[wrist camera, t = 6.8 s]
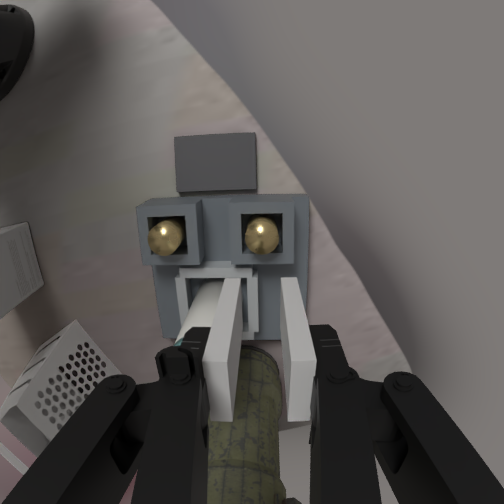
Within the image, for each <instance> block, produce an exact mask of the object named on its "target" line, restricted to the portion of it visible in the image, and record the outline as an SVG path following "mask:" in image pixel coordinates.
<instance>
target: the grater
mask: <svg viewBox="0 0 504 504" xmlns="http://www.w3.org/2000/svg"><path fill="white" fill-rule="evenodd" d="M58 336H60V338H59V339H58V340H57V339H56V338H57V337H58ZM54 339H56V340H55V341H54V342H52V341H53V340H54ZM50 342H52V343H51V344H50V345H48V344H49V343H50ZM85 342H87V343H88V344H89V348H86V347H85V346H84V343H85ZM78 344H80V345H82V347H83V349H82V350H81V351H80V350H78V348H77V346H78ZM46 345H48V346H47V347H46V348H44V347H45V346H46ZM42 348H44V349H42ZM90 349H93V350H94V351H95V354H94V355H92V354H91V353H90ZM84 351H86V352H87V353H88V357H85V356H84V355H83V352H84ZM76 352H79V353H80V354H81V358H77V357H76ZM70 354H72V355H73V356H74V360H73V361H71V360H70V359H69V355H70ZM96 355H98V356H100V359H101V360H100V361H97V360H96V358H95V357H96ZM89 358H93V360H94V363H93V364H91V363H90V362H89ZM82 359H86V361H87V364H86V365H83V364H82V362H81V360H82ZM76 361H78V362H79V363H80V367H79V368H77V367H76V366H75V364H74V363H75V362H76ZM102 361H103V362H105V363H106V367H105V368H103V367H102V366H101V362H102ZM67 363H69V364H71V366H72V368H71V370H68V369H67V368H66V364H67ZM96 364H98V365H99V366H100V370H96V369H95V365H96ZM89 365H90V366H92V368H93V371H92V372H90V371H89V370H88V368H87V367H88V366H89ZM59 366H62V367H63V368H64V372H63V373H62V371H61V370H60V369H59ZM81 368H84V369H85V370H86V374H82V373H81V371H80V370H81ZM73 370H76V371H77V373H78V375H77V377H74V376H73V374H72V371H73ZM101 371H104V372H105V374H106V375H105V377H103V376H101V373H100V372H101ZM94 372H97V373H98V375H99V377H98V378H95V377H94V375H93V373H94ZM66 373H68V374H70V376H71V378H70V380H69V379H68V378H67V377H66V376H65V374H66ZM117 374H122V373H121V372H120V371H119V370H118V369H117V368H116V366H115V365H114V364H113V363H112V362H111V361H110V360H109V359H108V357H107V356H106V355H105V354H104V353H103V352H102V351H101V349H100V348H99V347H98V346H97V345H96V344H95V342H94V341H93V340H92V339H91V338H90V336H89V335H88V334H87V333H86V331H85V330H84V329H83V328H82V326H81V325H80V324H79V323H78V321H77V320H76V319H75V320H74V321H73V322H71V323H70V324H69V325H67V326H66V327H65V328H63V329H62V330H61V331H59V332H58V333H57V334H55V335H54V336H53V337H51V338H50V339H49V340H47V341H46V342H45V343H43V344H42V345H41V346H40V347H39V348H38V350H37V351H36V353H35V354H34V356H33V357H32V359H31V360H30V362H29V363H28V365H27V366H26V368H25V369H24V371H23V372H22V374H21V375H20V377H19V378H18V380H17V381H16V383H15V385H14V386H13V388H12V389H11V391H10V393H9V394H8V396H7V398H6V399H5V401H4V403H3V404H2V406H1V408H0V421H1V423H2V424H3V425H4V426H5V427H6V428H7V429H8V430H9V431H10V432H11V433H12V434H13V435H14V436H15V437H16V438H17V439H18V440H19V441H20V442H21V443H22V444H23V445H24V446H25V447H27V449H29V450H30V451H31V452H32V453H33V454H34V455H35V456H36V457H37V458H38V457H39V455H40V454H41V453H42V452H43V450H44V449H45V448H46V447H47V445H48V444H49V443H50V442H51V440H52V439H53V438H54V437H55V435H56V434H57V433H58V432H59V431H60V429H61V428H62V427H63V426H64V424H65V423H66V422H67V421H68V420H69V418H70V417H71V416H72V415H73V414H74V412H75V411H76V410H77V409H78V408H79V406H80V405H81V404H82V403H83V402H84V400H85V399H86V398H87V397H88V396H89V394H90V393H91V392H92V391H93V390H94V388H95V387H94V386H93V382H94V381H96V382H97V383H98V384H99V382H101V381H102V380H103V379H104V378H106V377H109V376H111V375H117ZM87 375H91V377H92V381H88V380H87ZM122 375H123V374H122ZM79 377H82V378H83V379H84V383H83V384H81V383H80V382H79V380H78V379H79ZM72 380H75V381H76V382H77V386H76V387H75V386H74V385H73V384H72V383H71V381H72ZM85 384H89V386H90V390H86V389H85ZM78 387H81V388H82V389H83V393H81V392H80V391H79V390H78ZM84 394H87V395H85V396H84ZM0 454H1V455H2V456H3V457H4V458H5V459H6V460H8V462H10V463H11V464H12V465H13V466H14V467H15V468H16V469H17V470H19V471H20V472H21V473H22V474H23V475H24V474H25V473H26V472H27V470H28V469H29V468H28V467H27V466H26V465H25V464H23V463H22V462H21V461H20V460H19V459H18V458H17V457H16V456H15V455H13V453H12V452H10V451H9V450H8V449H7V448H6V447H5V446H4V445H3V444H2V443H1V442H0Z"/></svg>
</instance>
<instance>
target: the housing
mask: <svg viewBox="0 0 504 504" xmlns="http://www.w3.org/2000/svg"><path fill="white" fill-rule="evenodd" d="M136 211H137V221H138V231H139V239H140V248H141V255H142V263H143V265H152V269H153V277H154V284H155V291H156V297H157V304H158V310H159V316H160V322H161V328H162V334H163V338H177V337H178V335H179V333H180V330H181V328H182V326H183V323H184V321H185V319H186V316H187V314H188V312H189V309H190V307H191V305H192V302H193V300H194V298H195V296H196V293H197V291H198V289H199V287H200V285H201V284H202V283H203V282H204V281H205V280H206V279H208V278H241V291H242V294H243V302H242V319H243V331H242V340H281V331H280V305H281V278H284V277H297V281H298V285H299V289H300V293H301V297H302V301H303V305H304V309H305V313H306V296H307V272H308V237H309V196H308V195H307V194H249V195H214V196H190V197H170V198H152V199H150V200H147V201H145V203H143V204H141V205H139V206H137V207H136ZM265 213H267V214H269V215H271V216H272V217H273V218H274V219H275V221H276V224H277V229H278V234H279V242H278V245H277V247H276V248H275V249H274V250H273V251H272V252H270V253H268V254H264V255H260V254H256V253H254V252H252V251H251V250H250V249H249V248H248V247H247V245H246V242H245V235H246V230H247V225H248V221H249V220H250V218H251V217H252V216H253V215H255V214H265ZM168 216H180V217H181V218H183V219H184V220H185V221H186V234H187V237H186V238H185V239H184V241H183V242H182V243H181V244H180V245H179V247H178V248H177V249H176V250H175V251H174V252H173V253H172V254H170V255H168V256H161V255H158V254H156V253H154V252H153V251H152V250H151V248H150V247H149V244H148V234H149V232H150V230H151V229H152V228H153V227H154V226H156V225H157V224H158V223H160V222H161V221H162V220H164V219H165V218H166V217H168Z"/></svg>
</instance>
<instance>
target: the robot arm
mask: <svg viewBox="0 0 504 504" xmlns="http://www.w3.org/2000/svg"><path fill="white" fill-rule="evenodd" d="M33 35H34V27H33V21H32V18H31V16H30V14H29V13H28V12H27V11H26V10H24V9H22V8H20V7H18V6H15V5H9V4H8V5H0V100H1V99H2V98H3V97H5V95H6V94H7V93H8V92H9V91H10V90H11V89H12V87H13V86H14V84H15V83H16V81H17V80H18V78H19V76H20V75H21V73H22V71H23V69H24V67H25V64H26V62H27V59H28V57H29V54H30V51H31V47H32V42H33ZM242 331H243V319H242V296H241V278H225V280H224V283H223V287H222V290H221V294H220V297H219V301H218V305H217V308H216V312H215V315H214V319H213V323H212V326H211V327H192V328H190V329H189V330H188V331H187V332H186V333H185V335H184V337H183V340H182V342H181V345H180V346H179V345H178V346H170V347H168V348H165V349H163V350H161V351H160V352H158V353H157V355H156V357H155V360H156V364H157V369H158V373H159V377H160V378H159V381H156V382H153V383H147V384H139V385H136V383H135V381H134V380H133V379H132V378H131V377H130V376H127V375H122V374H117V375H111V376H109V377H106V378H104V379H103V380H102V381H101V382H99V384H98V385H97V386H96V387H95V388H94V390H93V391H92V392H91V393H90V394H89V396H88V397H87V398H86V399H85V400H84V402H83V403H82V404H81V405H80V406H79V408H78V409H77V410H76V411H75V412H74V414H73V415H72V416H71V417H70V418H69V420H68V421H67V422H66V423H65V424H64V426H63V427H62V428H61V429H60V431H59V432H58V433H57V434H56V435H55V437H54V438H53V439H52V440H51V442H50V443H49V444H48V445H47V447H46V448H45V449H44V450H43V452H42V453H41V454H40V455H39V457H38V458H37V459H36V460H35V462H34V463H33V464H32V465H31V467H30V468H29V469H28V470H27V472H26V473H25V474H24V475H23V477H22V478H21V479H20V481H19V482H18V483H17V484H16V486H15V487H14V488H13V490H12V491H11V492H10V493H9V495H8V496H7V497H6V499H5V500H4V501H3V503H2V504H119V503H120V501H121V499H122V497H123V495H124V493H125V492H126V490H127V488H128V486H129V484H130V482H131V481H132V479H133V477H134V475H135V473H136V471H137V470H138V471H137V476H136V481H135V485H134V490H133V496H132V500H131V504H207V485H208V452H209V427H208V418H209V413H210V419H211V421H223V422H233V413H234V404H235V395H236V386H237V377H238V367H239V358H240V349H241V340H242ZM280 331H281V342H282V354H283V366H284V379H285V391H286V404H287V418H288V422H291V421H310V414H311V417H312V425H311V432H310V439H309V444H311V463H310V469H311V471H310V504H382V503H381V496H380V489H379V482H378V475H377V469H376V462H375V456H376V458H377V460H378V462H379V464H380V466H381V468H382V470H383V472H384V474H385V476H386V478H387V480H388V482H389V484H390V486H391V488H392V491H393V492H394V495H395V497H396V498H397V501H398V503H399V504H504V488H503V487H502V486H501V484H500V483H499V481H498V480H497V479H496V477H495V476H494V475H493V473H492V472H491V470H490V469H489V467H488V466H487V465H486V464H485V462H484V461H483V459H482V458H481V457H480V455H479V454H478V453H477V451H476V450H475V449H474V448H473V446H472V445H471V443H470V442H469V441H468V439H467V438H466V437H465V436H464V434H463V433H462V432H461V430H460V429H459V428H458V426H457V425H456V424H455V422H454V421H453V420H452V419H451V417H450V416H449V415H448V414H447V412H446V411H445V410H444V408H443V407H442V406H441V405H440V403H439V402H438V401H437V400H436V398H435V397H434V396H433V395H432V393H431V392H430V391H429V390H428V388H427V387H426V386H425V385H424V383H423V382H422V381H421V380H420V379H419V378H418V377H417V376H416V375H413V374H411V373H408V372H402V371H401V372H394V373H391V374H389V375H387V377H386V378H385V379H384V382H374V381H368V380H364V379H361V378H359V375H358V373H357V372H356V371H355V370H354V369H352V368H351V367H349V366H348V363H347V360H346V357H345V354H344V351H343V349H342V346H341V343H340V340H339V338H338V335H337V332H336V330H334V329H333V328H332V327H331V326H330V325H329V324H327V325H308V321H307V317H306V313H305V309H304V305H303V301H302V297H301V293H300V289H299V285H298V281H297V277H284V278H281V305H280ZM374 454H375V456H374Z"/></svg>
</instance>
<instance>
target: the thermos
mask: <svg viewBox="0 0 504 504" xmlns="http://www.w3.org/2000/svg"><path fill="white" fill-rule="evenodd" d="M281 411H282V392H281V382H280V379H279V369H278V366H277V363H276V361H275V360H274V359H273V357H272V356H271V355H270V354H268V353H267V352H265V351H264V350H262V349H259V348H256V347H253V346H242V345H241V349H240V358H239V367H238V377H237V386H236V395H235V404H234V413H233V422H223V421H211V419H210V413H209V418H208V427H209V452H208V485H207V504H301V502H299V501H298V500H297V499H295V498H287V499H286V489H285V487H284V485H283V483H282V481H281V480H280V466H279V437H278V419H279V417H280V415H281Z"/></svg>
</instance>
